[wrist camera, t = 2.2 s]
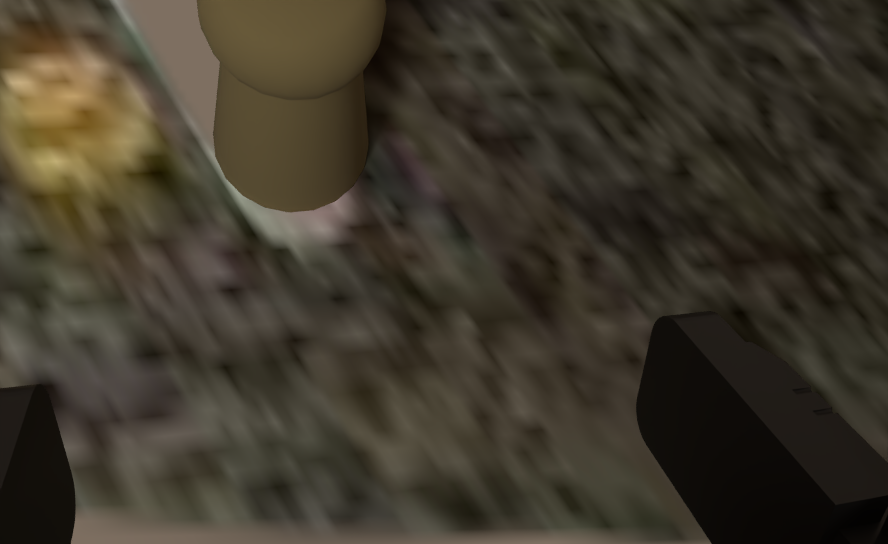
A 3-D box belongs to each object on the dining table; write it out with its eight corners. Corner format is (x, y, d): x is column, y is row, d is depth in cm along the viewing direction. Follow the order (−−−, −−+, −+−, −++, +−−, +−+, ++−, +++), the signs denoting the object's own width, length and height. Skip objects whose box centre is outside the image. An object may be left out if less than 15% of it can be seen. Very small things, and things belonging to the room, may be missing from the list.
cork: (218, 63, 30) (181, -147, 20) (370, 77, 32) (409, -116, 21) (207, 207, 29) (161, 61, 19) (367, 216, 30) (408, 83, 20)
